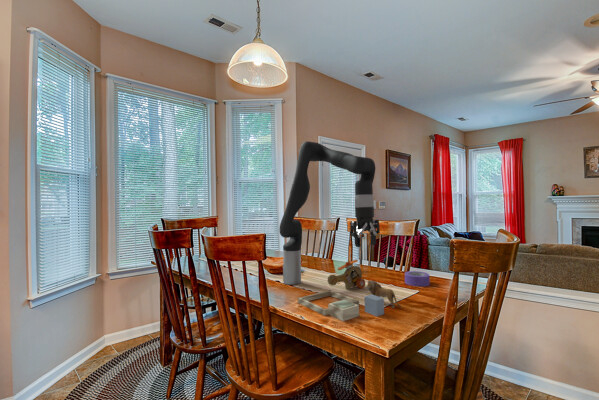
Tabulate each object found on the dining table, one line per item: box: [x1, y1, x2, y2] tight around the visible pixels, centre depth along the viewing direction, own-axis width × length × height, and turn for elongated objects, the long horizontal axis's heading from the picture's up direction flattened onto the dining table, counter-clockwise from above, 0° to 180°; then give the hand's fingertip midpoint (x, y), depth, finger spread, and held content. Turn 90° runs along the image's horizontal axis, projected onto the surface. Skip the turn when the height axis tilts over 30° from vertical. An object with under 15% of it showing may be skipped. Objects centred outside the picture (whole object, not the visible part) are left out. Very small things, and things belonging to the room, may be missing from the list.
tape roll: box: [404, 270, 430, 288], centre depth 153 cm, size 12×12×5 cm
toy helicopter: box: [327, 259, 366, 290], centre depth 145 cm, size 8×21×14 cm, turn 123°
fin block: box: [364, 293, 385, 317], centre depth 114 cm, size 6×4×6 cm, turn 34°
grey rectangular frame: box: [297, 290, 360, 322], centre depth 121 cm, size 26×18×4 cm
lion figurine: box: [365, 279, 402, 309], centre depth 123 cm, size 15×5×9 cm, turn 49°
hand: (365, 245), depth 122 cm, fingers open, 8 cm apart
